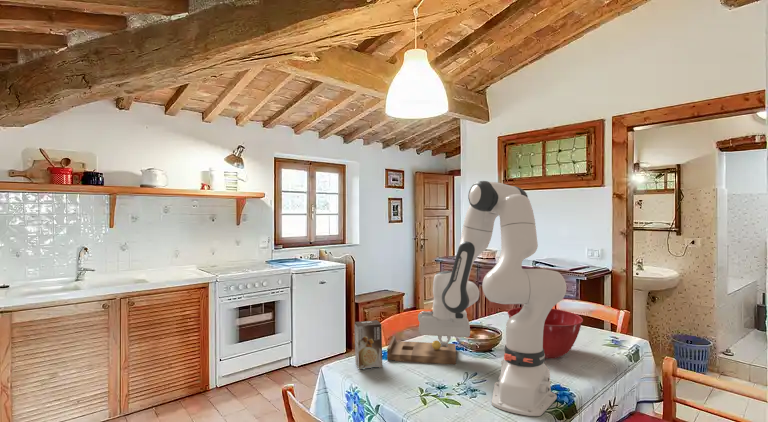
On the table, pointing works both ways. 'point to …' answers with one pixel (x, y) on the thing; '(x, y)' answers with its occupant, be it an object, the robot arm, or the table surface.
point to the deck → (420, 352)
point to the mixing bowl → (557, 331)
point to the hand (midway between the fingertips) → (444, 346)
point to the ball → (436, 345)
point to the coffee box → (368, 344)
